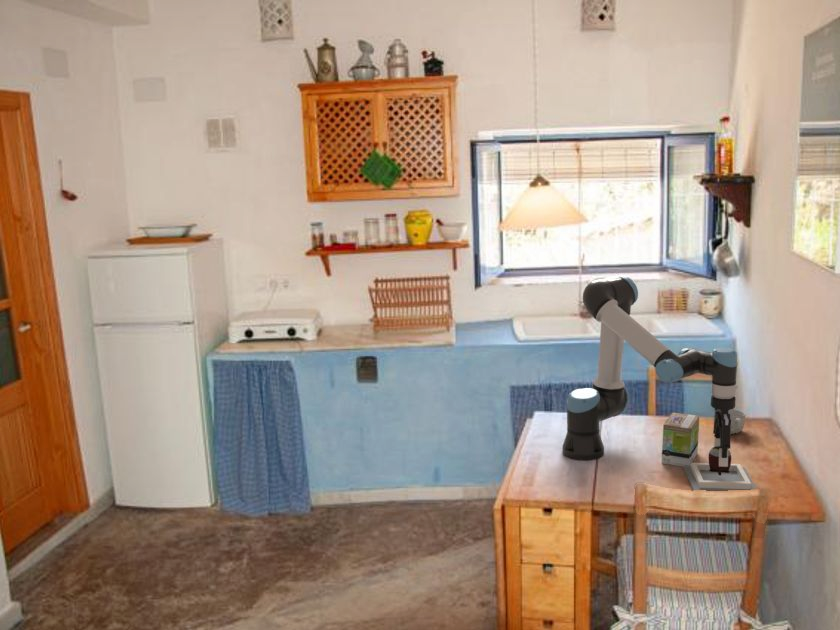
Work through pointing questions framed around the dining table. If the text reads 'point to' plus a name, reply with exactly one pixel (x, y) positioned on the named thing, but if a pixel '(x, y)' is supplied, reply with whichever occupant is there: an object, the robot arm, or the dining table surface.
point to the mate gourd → (715, 460)
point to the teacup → (736, 420)
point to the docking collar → (718, 478)
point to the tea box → (680, 439)
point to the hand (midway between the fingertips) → (720, 461)
